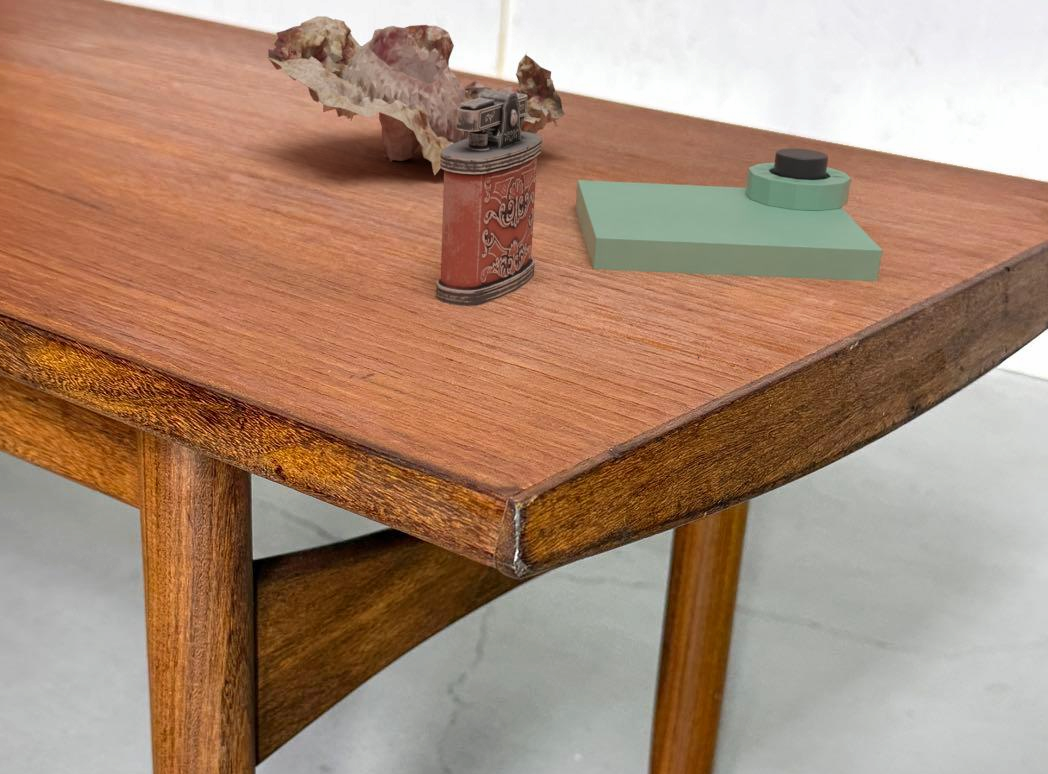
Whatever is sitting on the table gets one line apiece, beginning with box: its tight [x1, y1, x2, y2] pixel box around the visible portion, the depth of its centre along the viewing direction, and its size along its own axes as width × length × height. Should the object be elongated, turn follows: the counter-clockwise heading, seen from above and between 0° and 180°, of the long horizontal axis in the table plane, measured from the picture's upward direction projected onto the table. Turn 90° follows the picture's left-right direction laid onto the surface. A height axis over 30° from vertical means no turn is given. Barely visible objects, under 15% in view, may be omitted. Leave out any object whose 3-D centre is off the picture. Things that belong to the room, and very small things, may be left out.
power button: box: [773, 147, 829, 180], centre depth 92 cm, size 3×3×2 cm
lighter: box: [435, 89, 543, 307], centre depth 76 cm, size 8×3×10 cm, turn 154°
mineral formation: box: [266, 15, 566, 176], centre depth 104 cm, size 23×16×10 cm
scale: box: [575, 161, 883, 282], centre depth 89 cm, size 17×15×4 cm
